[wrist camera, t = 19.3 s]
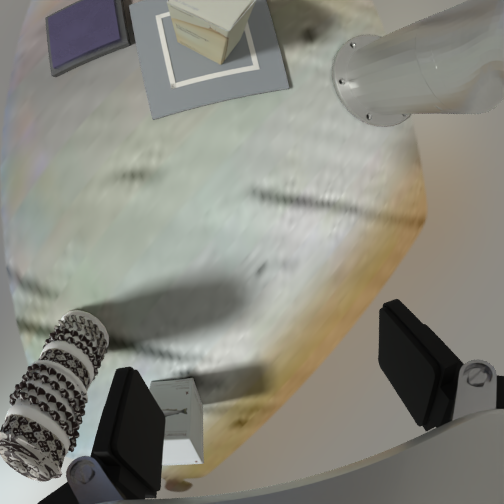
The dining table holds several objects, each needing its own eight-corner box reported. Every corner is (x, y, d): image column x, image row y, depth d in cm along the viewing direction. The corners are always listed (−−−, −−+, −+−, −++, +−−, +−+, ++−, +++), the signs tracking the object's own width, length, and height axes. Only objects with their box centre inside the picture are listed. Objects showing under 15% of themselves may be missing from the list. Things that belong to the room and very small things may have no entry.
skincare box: (176, 42, 29) (161, 2, 18) (198, 14, 28) (193, -34, 17) (222, 66, 31) (227, 33, 19) (244, 38, 30) (258, -4, 18)
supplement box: (193, 375, 46) (191, 439, 34) (203, 405, 49) (204, 465, 37) (149, 380, 45) (138, 441, 34) (162, 408, 48) (156, 467, 36)
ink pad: (120, -12, 25) (116, -18, 23) (130, 45, 29) (126, 41, 27) (49, 20, 25) (43, 16, 23) (55, 77, 28) (49, 75, 26)
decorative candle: (116, 359, 43) (77, 499, 20) (65, 353, 42) (9, 477, 19) (107, 310, 40) (43, 456, 17) (52, 305, 39) (-29, 429, 16)
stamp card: (258, -21, 27) (259, -24, 26) (288, 88, 33) (289, 88, 32) (130, 7, 26) (128, 5, 26) (153, 120, 32) (152, 119, 32)
